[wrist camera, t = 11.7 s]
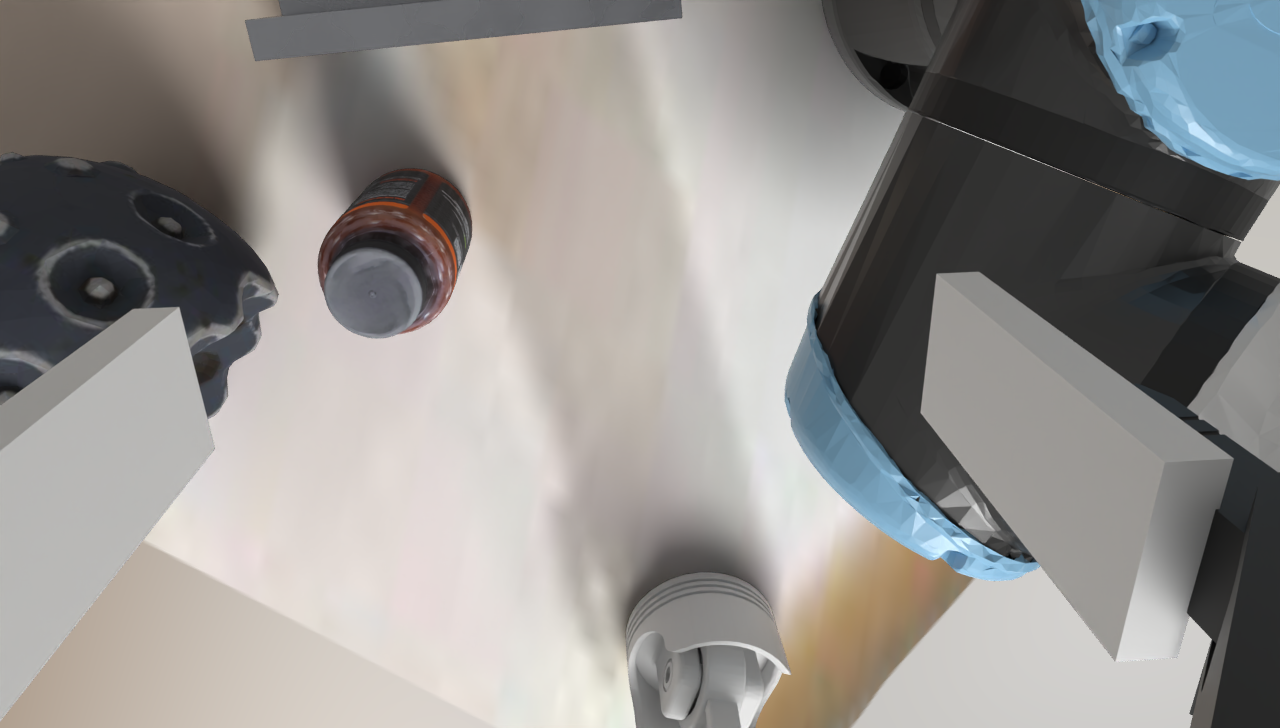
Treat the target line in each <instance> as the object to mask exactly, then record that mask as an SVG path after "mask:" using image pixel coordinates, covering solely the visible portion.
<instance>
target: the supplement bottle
mask: <svg viewBox="0 0 1280 728" xmlns="http://www.w3.org/2000/svg"><path fill="white" fill-rule="evenodd" d="M471 238H472V220H471V215H470V211H469V209H468V206H467V204H466V202H465V200H464V198H463V197H462V195H461V194H460V192H459V191H458V190H457V189H456V188H455V187H454V186H453V185H452V184H451V183H449V182H448V181H447V180H445V179H444V178H442V177H440V176H439V175H436V174H434V173H432V172H429V171H426V170H422V169H400V170H396V171H392V172H390V173H387V174H385V175H383V176H381V177H380V178H378V179H377V180H375V181H374V182H373V183H371V185H369V186H368V187H367V189H366V190H365V191H364V192H363V193H362V194H361V195H360V196H359V197H358V198H357V200H356V201H355V202H354V203H353V204H352V205H351V206H350V207H349V208H348V209H347V210H346V211H345V213H344V214H342V215H341V217H340V218H339V219H338V220H337V221H336V223H335V224H334V225H333V226H332V227H331V229H330V230H329V232H328V233H327V235H326V237H325V238H324V240H323V243H322V246H321V248H320V251H319V255H318V274H319V281H320V284H321V287H322V290H323V293H324V295H325V300H326V303H327V306H328V308H329V310H330V312H331V313H332V315H333V316H334V317H335V319H336V320H337V321H338V322H339V323H340V324H341V325H343V326H344V327H345V328H346V329H348V330H349V331H351V332H353V333H355V334H358V335H361V336H365V337H368V338H387V337H391V336H394V335H397V334H403V333H407V332H411V331H414V330H417V329H419V328H421V327H423V326H425V325H427V324H428V323H430V322H431V321H432V320H433V319H435V318H436V317H437V316H438V315H439V313H441V311H442V310H443V308H444V307H445V306H446V304H447V303H448V301H449V299H450V297H451V294H452V292H453V289H454V287H455V284H456V281H457V279H458V276H459V273H460V271H461V268H462V265H463V262H464V260H465V257H466V254H467V252H468V249H469V246H470V241H471Z"/></svg>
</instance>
